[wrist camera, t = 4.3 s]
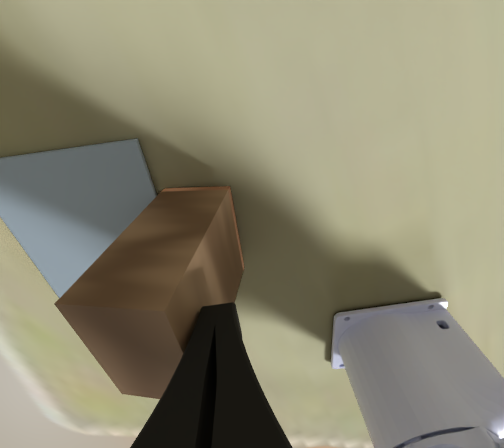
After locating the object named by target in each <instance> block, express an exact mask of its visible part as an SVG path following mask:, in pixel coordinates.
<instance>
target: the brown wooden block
mask: <svg viewBox="0 0 504 448" xmlns="http://www.w3.org/2000/svg"><path fill="white" fill-rule="evenodd" d="M243 271H244V262H243V256H242V250H241V245H240V239H239V234H238V228H237V222H236V217H235V211H234V205H233V200H232V194H231V188H230V186H222V187H192V188H164V189H163V190H162V191H161V192H160V193H159V194H158V195H157V196H156V197H155V198H154V200H153V201H152V202H151V203H150V204H149V205H148V206H147V207H146V208H145V209H144V210H143V211H142V212H141V213H140V214H139V215H138V216H137V217H136V218H135V220H134V221H133V222H132V223H131V224H130V225H129V226H128V227H127V228H126V229H125V230H124V231H123V232H122V233H121V234H120V235H119V236H118V237H117V238H116V240H115V241H114V242H113V243H112V244H111V245H110V246H109V247H108V248H107V249H106V250H105V251H104V252H103V253H102V254H101V255H100V256H99V257H98V258H97V260H96V261H95V262H94V263H93V264H92V265H91V266H90V267H89V268H88V269H87V270H86V271H85V272H84V273H83V274H82V275H81V276H80V277H79V278H78V280H77V281H76V282H75V283H74V284H73V285H72V286H71V287H70V288H69V289H68V290H67V291H66V292H65V293H64V294H63V295H62V296H61V297H60V298H59V299H58V301H57V302H56V303H55V305H56V307H57V308H58V309H59V311H60V312H61V313H62V315H63V316H64V317H65V319H66V320H67V321H68V323H69V324H70V325H71V327H72V328H73V329H74V331H75V332H76V333H77V335H78V336H79V337H80V339H81V340H82V341H83V343H84V344H85V345H86V347H87V348H88V349H89V351H90V352H91V353H92V355H93V356H94V357H95V359H96V360H97V361H98V363H99V364H100V365H101V367H102V368H103V369H104V371H105V372H106V373H107V375H108V376H109V377H110V379H111V380H112V381H113V383H114V384H115V385H116V387H117V388H118V389H119V391H120V392H121V393H122V394H127V395H135V396H142V397H149V398H156V399H161V397H162V395H163V393H164V391H165V390H166V388H167V386H168V384H169V382H170V380H171V378H172V376H173V374H174V372H175V370H176V368H177V366H178V364H179V362H180V360H181V358H182V355H183V353H184V351H185V349H186V346H187V344H188V342H189V339H190V337H191V335H192V332H193V330H194V327H195V324H196V321H197V319H198V316H199V313H200V309H201V308H202V307H203V306H210V305H217V304H224V303H231V302H233V303H235V299H236V296H237V292H238V289H239V285H240V281H241V278H242V274H243Z"/></svg>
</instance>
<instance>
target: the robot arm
mask: <svg viewBox="0 0 504 448" xmlns="http://www.w3.org/2000/svg"><path fill="white" fill-rule="evenodd" d="M447 306H448V302H447V300H446V299H444V298H438V299H431V300H424V301H417V302H410V303H403V304H396V305H389V306H382V307H375V308H368V309H361V310H354V311H347V312H340V313H337V314H336V315H335V316H334V322H333V337H332V352H331V366H332V368H333V369H340V368H345V370H346V372H347V375H348V378H349V380H350V383H351V386H352V389H353V391H354V394H355V397H356V399H357V402H358V405H359V408H360V410H361V413H362V416H363V418H364V421H365V424H366V427H367V429H368V432H369V435H370V437H371V440H372V443H373V446H374V448H504V378H503V377H502V376H501V374H500V373H499V372H498V370H497V369H496V368H495V367H494V366H493V364H492V363H491V362H490V361H489V360H488V358H487V357H486V356H485V355H484V354H483V353H482V351H481V350H480V349H479V348H478V347H477V345H476V344H475V343H474V342H473V341H472V339H471V338H470V337H469V336H468V335H467V333H466V332H465V331H464V330H463V329H462V327H461V326H460V325H459V324H458V323H457V321H456V320H455V319H454V318H453V317H452V316H451V314H450V313H449V312H448V311H447V310H446V309H447ZM130 448H292V446H291V444H290V442H289V441H288V439H287V437H286V435H285V433H284V432H283V430H282V428H281V426H280V424H279V422H278V421H277V419H276V417H275V415H274V413H273V411H272V409H271V407H270V405H269V403H268V401H267V399H266V397H265V395H264V393H263V391H262V388H261V386H260V384H259V382H258V380H257V377H256V375H255V373H254V370H253V368H252V365H251V363H250V360H249V358H248V355H247V352H246V349H245V346H244V344H243V341H242V333H241V328H240V323H239V318H238V314H237V309H236V305H235V304H234V303H233V302H231V303H224V304H217V305H210V306H203V307H202V308H201V309H200V313H199V316H198V319H197V321H196V324H195V327H194V330H193V332H192V335H191V337H190V339H189V342H188V344H187V346H186V349H185V351H184V353H183V355H182V358H181V360H180V362H179V364H178V366H177V368H176V370H175V372H174V374H173V376H172V378H171V380H170V382H169V384H168V386H167V388H166V390H165V391H164V393H163V395H162V397H161V399H160V400H159V402H158V404H157V406H156V407H155V409H154V411H153V412H152V414H151V416H150V417H149V419H148V421H147V422H146V424H145V425H144V427H143V429H142V430H141V432H140V433H139V435H138V437H137V438H136V440H135V441H134V443H133V444H132V446H131V447H130Z"/></svg>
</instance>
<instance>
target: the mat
mask: <svg viewBox="0 0 504 448" xmlns="http://www.w3.org/2000/svg"><path fill="white" fill-rule="evenodd" d="M156 196H157V193H156V190H155V188H154V185H153V182H152V179H151V176H150V173H149V170H148V167H147V164H146V161H145V158H144V155H143V153H142V150H141V147H140V144H139V141H138V138H136V139H129V140H122V141H115V142H108V143H101V144H94V145H87V146H80V147H73V148H66V149H59V150H52V151H45V152H37V153H30V154H23V155H16V156H9V157H2V158H0V217H1V218H2V220H3V221H4V223H5V224H6V225H7V227H8V228H9V229H10V231H11V232H12V234H13V235H14V236H15V238H16V239H17V240H18V242H19V243H20V245H21V246H22V247H23V249H24V250H25V251H26V253H27V254H28V256H29V257H30V258H31V260H32V261H33V263H34V264H35V265H36V267H37V268H38V269H39V271H40V272H41V274H42V275H43V276H44V278H45V279H46V280H47V282H48V283H49V285H50V286H51V287H52V289H53V290H54V292H55V293H56V294H57V296H58V297H59V298H60V297H61V296H62V295H63V294H64V293H65V292H66V291H67V290H68V289H69V288H70V287H71V286H72V285H73V284H74V283H75V282H76V281H77V280H78V278H79V277H80V276H81V275H82V274H83V273H84V272H85V271H86V270H87V269H88V268H89V267H90V266H91V265H92V264H93V263H94V262H95V261H96V260H97V258H98V257H99V256H100V255H101V254H102V253H103V252H104V251H105V250H106V249H107V248H108V247H109V246H110V245H111V244H112V243H113V242H114V241H115V240H116V238H117V237H118V236H119V235H120V234H121V233H122V232H123V231H124V230H125V229H126V228H127V227H128V226H129V225H130V224H131V223H132V222H133V221H134V220H135V218H136V217H137V216H138V215H139V214H140V213H141V212H142V211H143V210H144V209H145V208H146V207H147V206H148V205H149V204H150V203H151V202H152V201H153V200H154V198H155V197H156Z"/></svg>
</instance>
